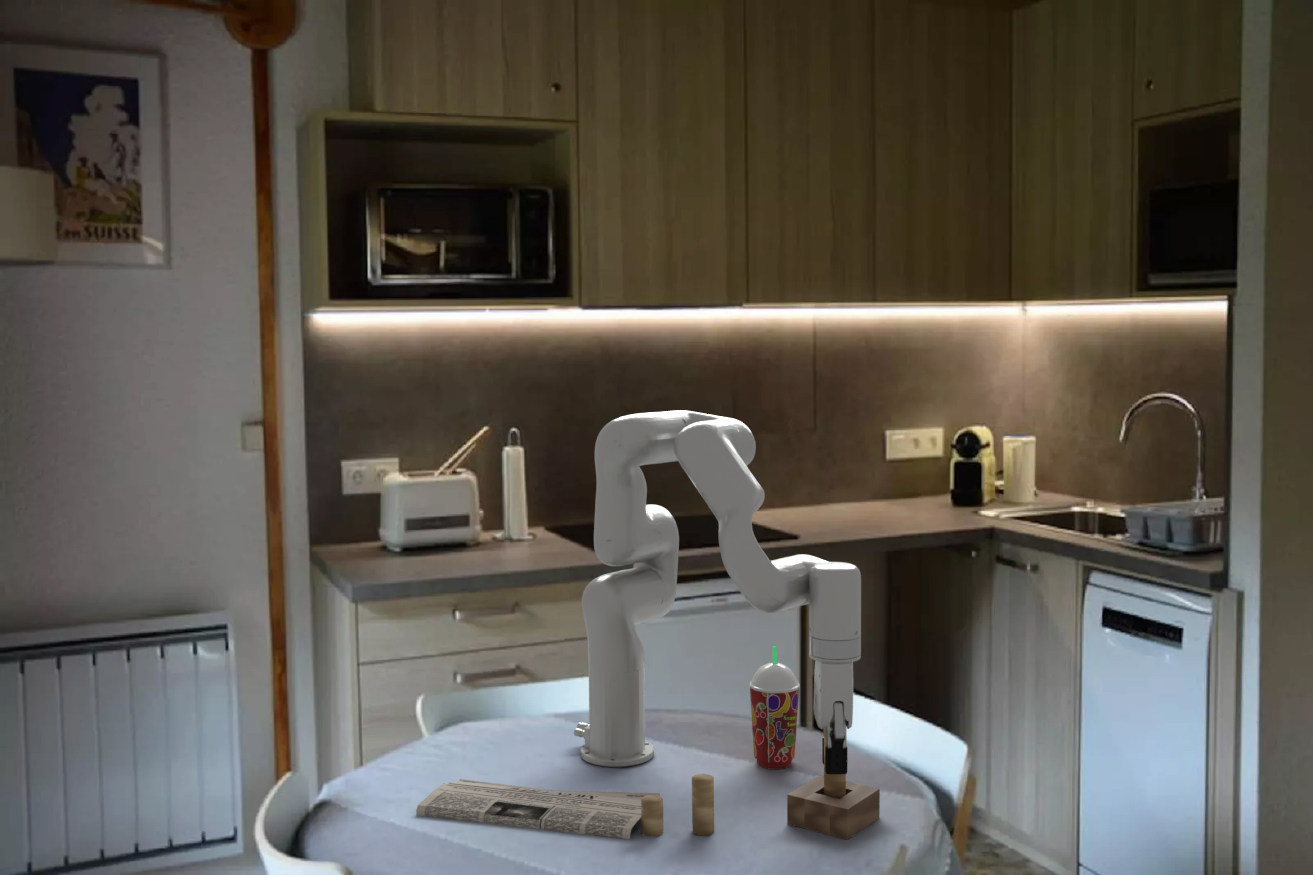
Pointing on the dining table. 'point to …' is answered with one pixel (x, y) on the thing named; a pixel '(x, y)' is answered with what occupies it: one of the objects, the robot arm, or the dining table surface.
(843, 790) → the long dowel
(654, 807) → the short dowel
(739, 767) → the dining table surface
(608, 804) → the newspaper
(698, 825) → the medium dowel
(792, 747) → the smoothie
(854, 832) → the collar
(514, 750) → the dining table surface
